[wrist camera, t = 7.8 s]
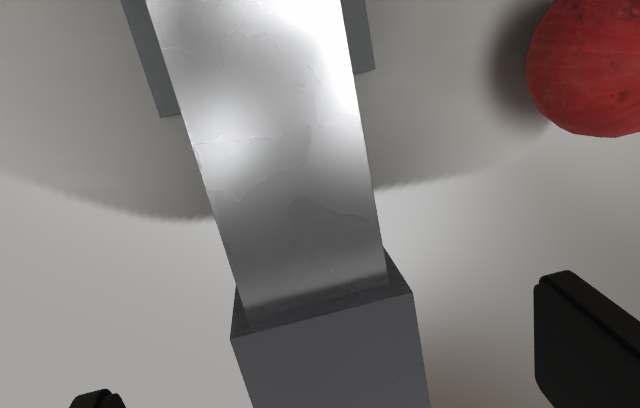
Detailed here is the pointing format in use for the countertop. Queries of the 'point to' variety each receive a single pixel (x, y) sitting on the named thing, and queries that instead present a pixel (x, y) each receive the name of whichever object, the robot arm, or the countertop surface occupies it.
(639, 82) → the pomegranate
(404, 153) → the countertop surface
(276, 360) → the shaft
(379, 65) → the countertop surface
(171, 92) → the base plate
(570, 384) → the robot arm
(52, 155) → the countertop surface
